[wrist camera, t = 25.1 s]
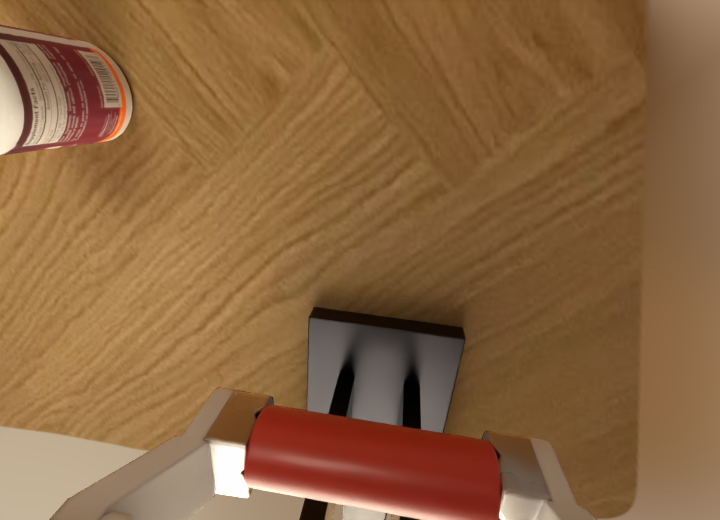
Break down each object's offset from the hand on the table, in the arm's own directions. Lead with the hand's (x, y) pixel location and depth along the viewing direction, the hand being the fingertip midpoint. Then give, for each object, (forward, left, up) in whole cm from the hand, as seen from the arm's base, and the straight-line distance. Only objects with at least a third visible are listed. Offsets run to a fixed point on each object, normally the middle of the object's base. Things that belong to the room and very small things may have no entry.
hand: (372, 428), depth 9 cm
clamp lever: (+2, +4, -1) cm, 5 cm away
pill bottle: (+11, -14, -12) cm, 21 cm away
